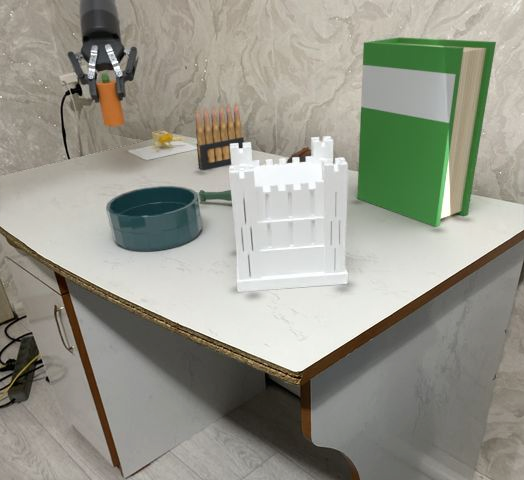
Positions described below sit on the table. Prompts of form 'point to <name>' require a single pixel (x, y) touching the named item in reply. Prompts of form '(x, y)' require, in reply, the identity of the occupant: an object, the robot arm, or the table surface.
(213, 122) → the ammunition clip
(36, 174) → the table surface
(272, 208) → the castle model
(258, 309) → the table surface
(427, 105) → the hardback book
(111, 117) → the carrot toy
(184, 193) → the bowl
